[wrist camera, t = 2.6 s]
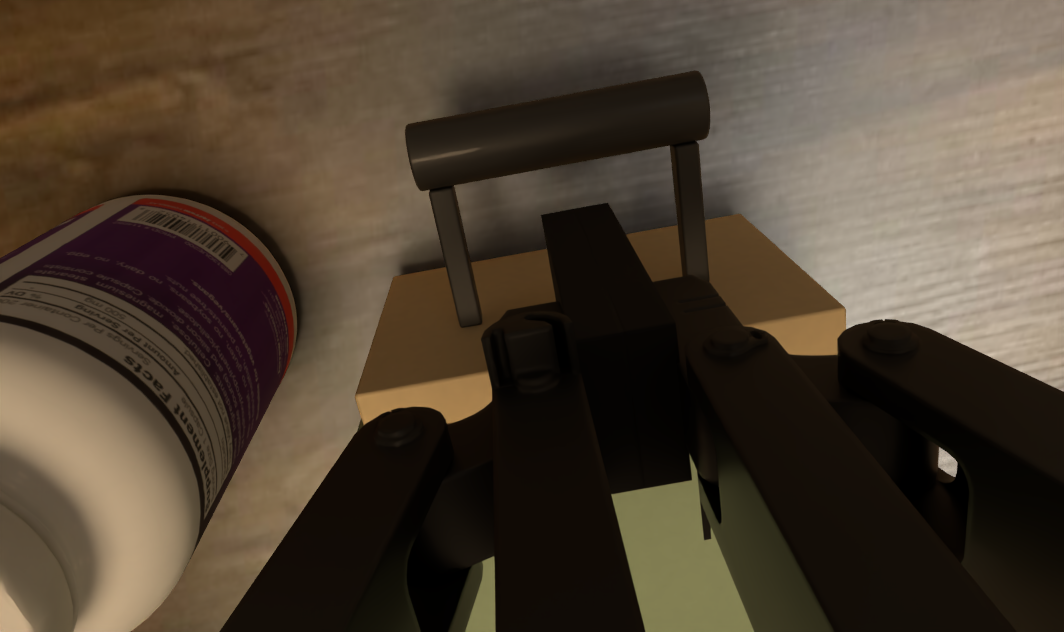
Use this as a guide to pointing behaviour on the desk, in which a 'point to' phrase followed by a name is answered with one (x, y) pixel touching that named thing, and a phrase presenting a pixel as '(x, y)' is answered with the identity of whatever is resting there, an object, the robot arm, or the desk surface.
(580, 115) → the drawer
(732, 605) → the cabinet
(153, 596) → the pill bottle
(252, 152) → the desk surface
